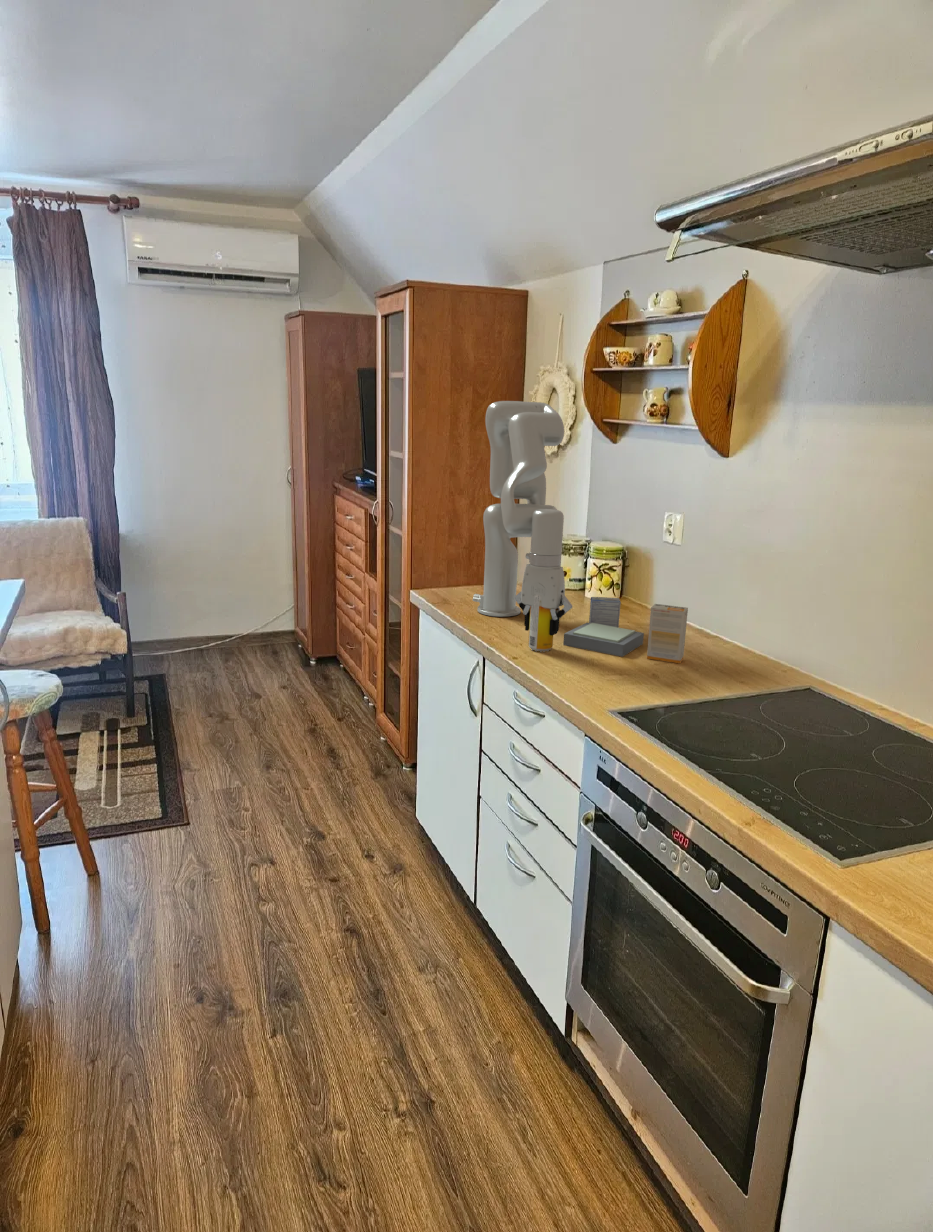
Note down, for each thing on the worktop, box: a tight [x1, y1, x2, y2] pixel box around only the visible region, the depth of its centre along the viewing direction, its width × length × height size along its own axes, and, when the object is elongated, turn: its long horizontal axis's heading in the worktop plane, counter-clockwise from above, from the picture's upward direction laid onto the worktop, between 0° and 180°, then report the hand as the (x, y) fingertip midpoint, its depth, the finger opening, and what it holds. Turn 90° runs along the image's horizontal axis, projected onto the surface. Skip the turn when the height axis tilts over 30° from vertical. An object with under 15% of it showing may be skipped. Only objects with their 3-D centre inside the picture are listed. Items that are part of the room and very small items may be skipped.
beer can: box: [527, 594, 554, 653], centre depth 202 cm, size 6×6×15 cm
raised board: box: [562, 622, 645, 658], centre depth 209 cm, size 16×14×4 cm
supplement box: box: [646, 603, 689, 664], centre depth 197 cm, size 8×5×13 cm, turn 65°
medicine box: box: [588, 596, 622, 628], centre depth 223 cm, size 8×4×9 cm, turn 84°
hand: (541, 631), depth 202 cm, fingers closed on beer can, 6 cm apart
